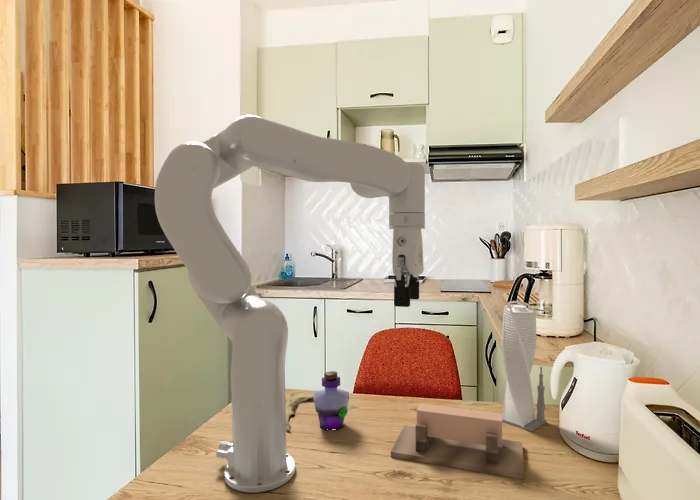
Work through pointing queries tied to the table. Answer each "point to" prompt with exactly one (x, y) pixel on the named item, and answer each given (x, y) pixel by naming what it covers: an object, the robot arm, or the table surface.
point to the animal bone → (294, 405)
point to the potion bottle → (331, 402)
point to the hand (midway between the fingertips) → (407, 302)
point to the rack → (461, 452)
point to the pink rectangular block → (460, 423)
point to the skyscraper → (520, 368)
